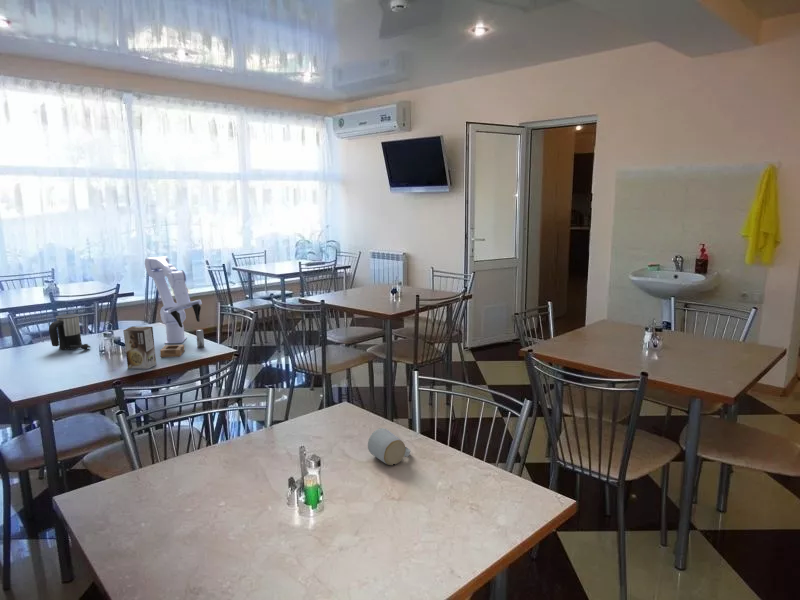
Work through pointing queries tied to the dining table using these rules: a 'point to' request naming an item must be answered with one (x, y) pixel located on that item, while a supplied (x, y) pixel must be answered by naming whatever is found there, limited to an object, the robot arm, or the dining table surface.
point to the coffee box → (139, 347)
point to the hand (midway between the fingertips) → (189, 324)
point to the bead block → (172, 350)
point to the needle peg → (200, 338)
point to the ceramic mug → (387, 447)
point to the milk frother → (66, 332)
